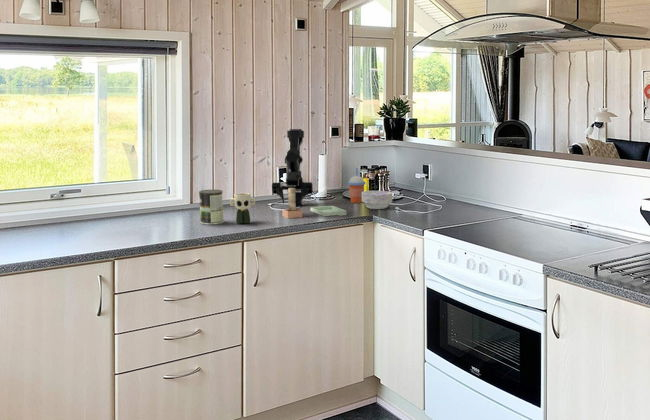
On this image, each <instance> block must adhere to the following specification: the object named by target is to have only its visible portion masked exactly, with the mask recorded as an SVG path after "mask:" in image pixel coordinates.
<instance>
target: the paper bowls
mask: <svg viewBox="0 0 650 420" xmlns="http://www.w3.org/2000/svg"><path fill="white" fill-rule="evenodd" d="M361 203H364V204H365V207H366V208H368V209H371V210H384V209H387V208H388V207H389V206H390V205H389V204H392V203H393V192H392V191H387V190H364V192H362V202H361Z"/></svg>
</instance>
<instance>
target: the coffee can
mask: <svg viewBox="0 0 650 420" xmlns="http://www.w3.org/2000/svg"><path fill="white" fill-rule="evenodd" d="M223 192H224V191H223V190H222V189H203V190H199V191H198V195H199V196H198V197H199V217H200V224H201V225H205V226H206V225H207V226H209V225H210V226H214V225H220V224H223V223H224V222H225V221H224V205H223V204H224V203H223V201H224V200H223V194H224V193H223Z"/></svg>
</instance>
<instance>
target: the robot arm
mask: <svg viewBox="0 0 650 420" xmlns="http://www.w3.org/2000/svg"><path fill="white" fill-rule="evenodd" d="M286 132H287V133H286V136H287V139H288V142H289V149H288V150H287V151H286V155H285V157H284V164H286V173H285V174H286V177H285V184H286V185H285V184H284V185H283V184H282V183H281V182H279V181H278V182H272V183H271V191H272V194H273V195H277V196H279V197H280V199H281V202H282V204H285V199H284V191H286V190H287V191H288V188H295V198H296V207H303V206H305V204H304V203H303V200H304V199H305V198H306V196H308V195H312V194H313V193H314V187H313V185H314V184H313V183H312V182H311V181H310V182H309V181H305V182H304V179H303V176H302V170H301V164H302V163H303V160H304V159H303V156H302V155H301V145H302V144H303V142H304V138H305V131H304V130H303V129H302V128H290V129H289V130H287V131H286Z"/></svg>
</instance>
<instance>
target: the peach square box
mask: <svg viewBox="0 0 650 420" xmlns="http://www.w3.org/2000/svg"><path fill="white" fill-rule="evenodd" d="M281 211H282V214H281V215H282V217H284V218H286V219H296V218H303V210H302V209H299V208H296V211H290V212H289V208H285V209H282V210H281Z"/></svg>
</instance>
